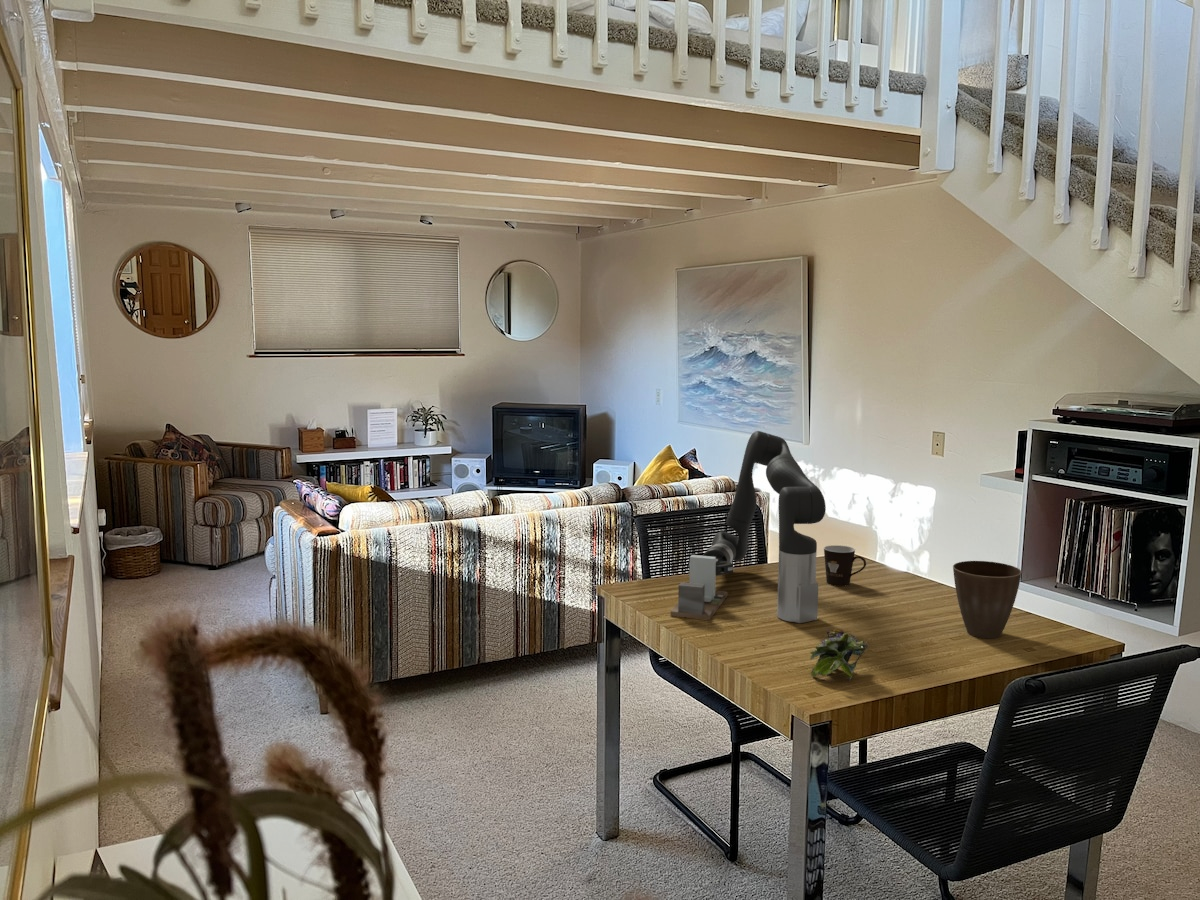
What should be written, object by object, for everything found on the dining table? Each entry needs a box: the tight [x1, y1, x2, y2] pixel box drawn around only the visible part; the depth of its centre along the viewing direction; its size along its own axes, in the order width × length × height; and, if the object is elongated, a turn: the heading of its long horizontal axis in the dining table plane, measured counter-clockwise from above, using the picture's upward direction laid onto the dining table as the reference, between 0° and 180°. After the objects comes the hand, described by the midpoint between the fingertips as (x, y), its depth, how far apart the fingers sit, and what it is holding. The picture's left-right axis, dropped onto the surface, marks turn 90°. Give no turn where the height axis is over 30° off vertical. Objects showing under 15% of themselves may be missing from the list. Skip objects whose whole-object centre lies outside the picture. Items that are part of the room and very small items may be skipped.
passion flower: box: [809, 629, 869, 683], centre depth 191 cm, size 11×11×12 cm
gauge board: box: [670, 581, 728, 621], centre depth 239 cm, size 22×10×8 cm, turn 160°
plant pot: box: [952, 560, 1022, 639], centre depth 217 cm, size 15×15×16 cm
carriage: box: [689, 554, 722, 602], centre depth 238 cm, size 8×8×11 cm
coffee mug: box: [823, 544, 867, 587], centre depth 259 cm, size 12×9×10 cm
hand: (703, 574), depth 242 cm, fingers closed
